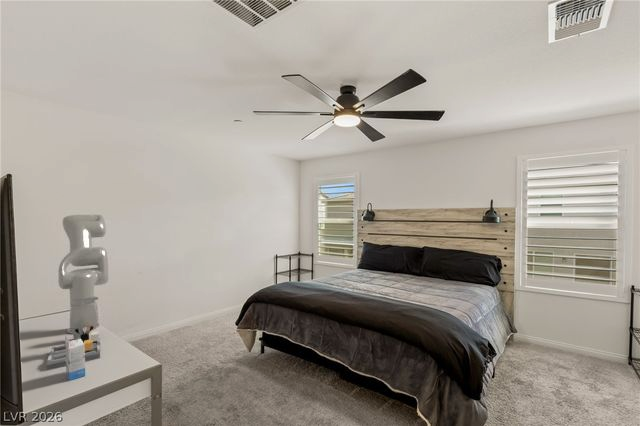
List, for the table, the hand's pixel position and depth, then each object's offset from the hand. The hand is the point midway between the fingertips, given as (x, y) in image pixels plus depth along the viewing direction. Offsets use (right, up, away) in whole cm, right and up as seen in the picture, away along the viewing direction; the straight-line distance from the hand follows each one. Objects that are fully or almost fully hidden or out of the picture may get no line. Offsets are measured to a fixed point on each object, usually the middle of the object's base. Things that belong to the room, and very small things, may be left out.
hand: (84, 342), depth 141 cm
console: (+1, -3, -6) cm, 7 cm away
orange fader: (+7, -1, -7) cm, 10 cm away
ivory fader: (+3, -1, +2) cm, 4 cm away
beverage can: (-10, -4, +11) cm, 15 cm away
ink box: (+13, -3, -23) cm, 26 cm away
